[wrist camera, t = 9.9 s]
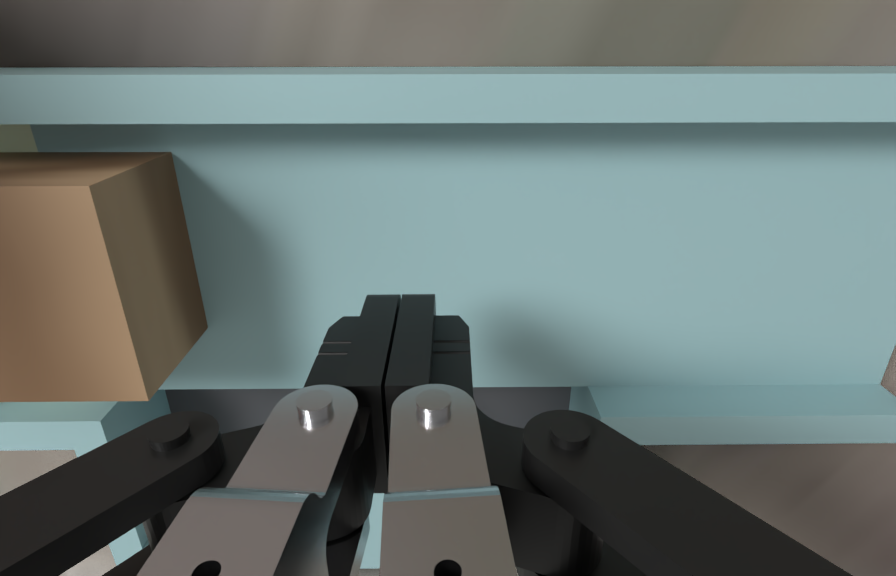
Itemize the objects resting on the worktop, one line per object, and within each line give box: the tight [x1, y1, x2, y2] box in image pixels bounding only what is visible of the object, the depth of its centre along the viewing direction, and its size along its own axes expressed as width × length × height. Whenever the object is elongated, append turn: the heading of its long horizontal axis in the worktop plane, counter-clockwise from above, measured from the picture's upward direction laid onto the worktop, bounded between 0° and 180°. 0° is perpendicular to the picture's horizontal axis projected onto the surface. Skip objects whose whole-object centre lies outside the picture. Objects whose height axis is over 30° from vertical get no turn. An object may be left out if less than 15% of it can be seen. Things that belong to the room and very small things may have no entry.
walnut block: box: [0, 152, 208, 402], centre depth 13 cm, size 5×5×4 cm
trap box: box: [0, 66, 896, 569], centre depth 16 cm, size 28×15×4 cm, turn 90°
